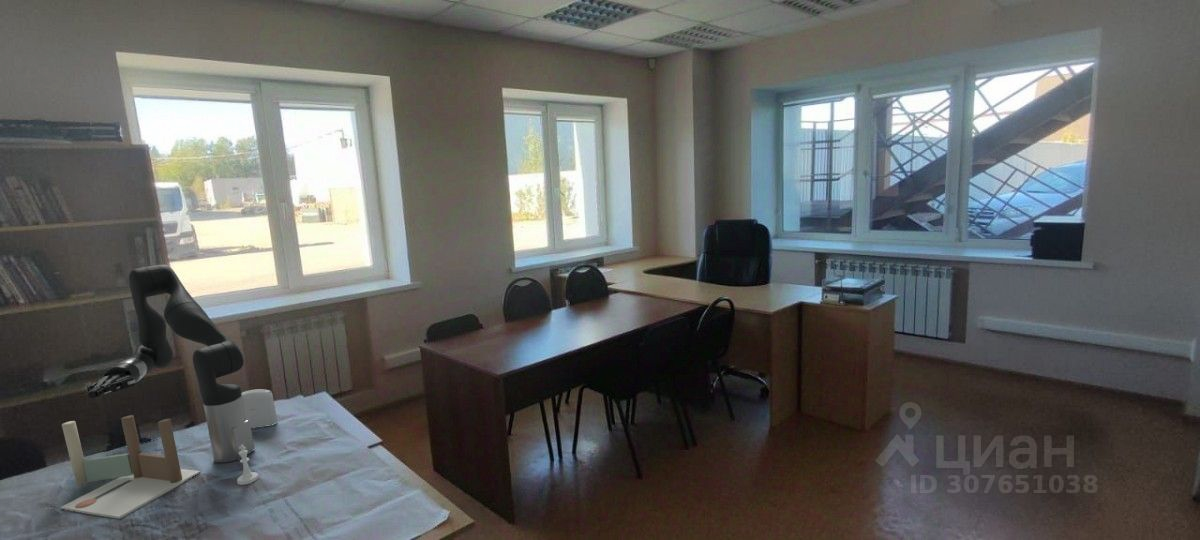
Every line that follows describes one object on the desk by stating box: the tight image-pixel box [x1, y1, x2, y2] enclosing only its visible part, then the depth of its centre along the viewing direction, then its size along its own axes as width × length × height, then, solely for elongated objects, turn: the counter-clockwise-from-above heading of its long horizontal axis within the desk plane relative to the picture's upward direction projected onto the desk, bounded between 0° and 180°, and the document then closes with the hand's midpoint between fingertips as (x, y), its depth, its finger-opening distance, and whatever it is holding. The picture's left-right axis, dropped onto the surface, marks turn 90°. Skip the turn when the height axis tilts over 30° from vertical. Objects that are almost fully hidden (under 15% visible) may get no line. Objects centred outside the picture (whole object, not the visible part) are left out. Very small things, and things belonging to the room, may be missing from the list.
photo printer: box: [241, 388, 278, 429], centre depth 180 cm, size 10×4×12 cm, turn 100°
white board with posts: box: [60, 414, 201, 520], centre depth 144 cm, size 20×20×18 cm
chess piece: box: [236, 445, 260, 486], centre depth 148 cm, size 5×5×10 cm
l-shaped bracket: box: [61, 420, 133, 486], centre depth 149 cm, size 13×3×17 cm, turn 105°
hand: (92, 395), depth 156 cm, fingers closed
